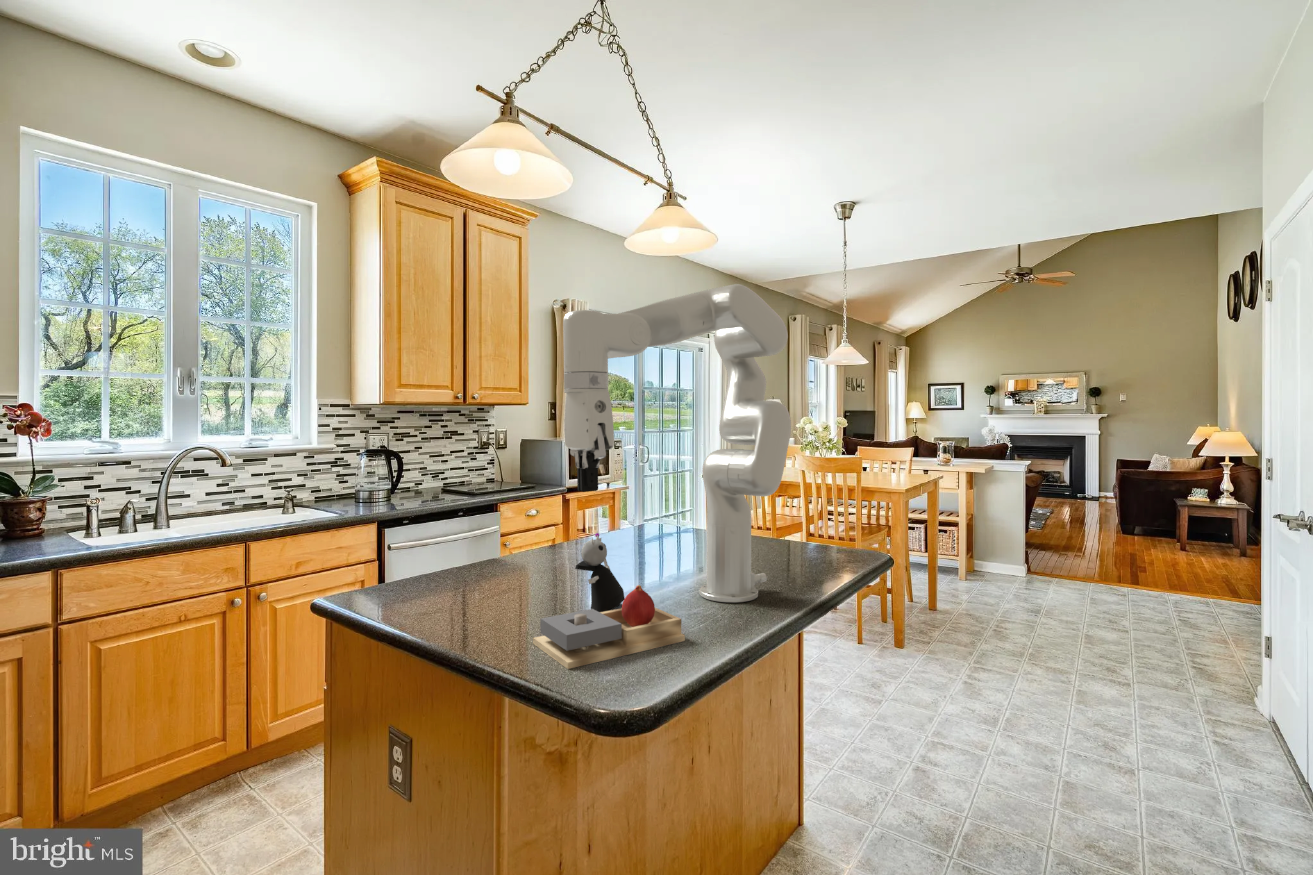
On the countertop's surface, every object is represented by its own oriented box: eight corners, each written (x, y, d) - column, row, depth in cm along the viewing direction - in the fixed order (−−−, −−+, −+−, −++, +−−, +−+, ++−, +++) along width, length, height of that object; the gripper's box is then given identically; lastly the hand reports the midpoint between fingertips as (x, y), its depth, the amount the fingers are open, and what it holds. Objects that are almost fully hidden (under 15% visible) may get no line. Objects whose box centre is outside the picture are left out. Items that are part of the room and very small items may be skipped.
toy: (619, 614, 117) (595, 538, 117) (586, 623, 118) (562, 548, 119) (633, 597, 128) (612, 528, 129) (603, 606, 129) (582, 537, 130)
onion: (616, 627, 109) (617, 582, 109) (647, 623, 112) (647, 579, 111) (628, 637, 104) (628, 590, 104) (659, 633, 106) (660, 587, 106)
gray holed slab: (592, 622, 108) (592, 608, 108) (621, 638, 100) (621, 623, 100) (540, 632, 103) (540, 618, 103) (566, 650, 95) (566, 635, 95)
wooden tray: (643, 620, 116) (643, 591, 116) (684, 640, 106) (684, 608, 106) (533, 643, 104) (533, 611, 104) (567, 669, 93) (567, 632, 93)
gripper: (628, 382, 102) (629, 493, 103) (584, 386, 115) (586, 485, 115) (587, 381, 98) (589, 497, 99) (547, 385, 110) (549, 488, 111)
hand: (587, 490), depth 107 cm, fingers closed
